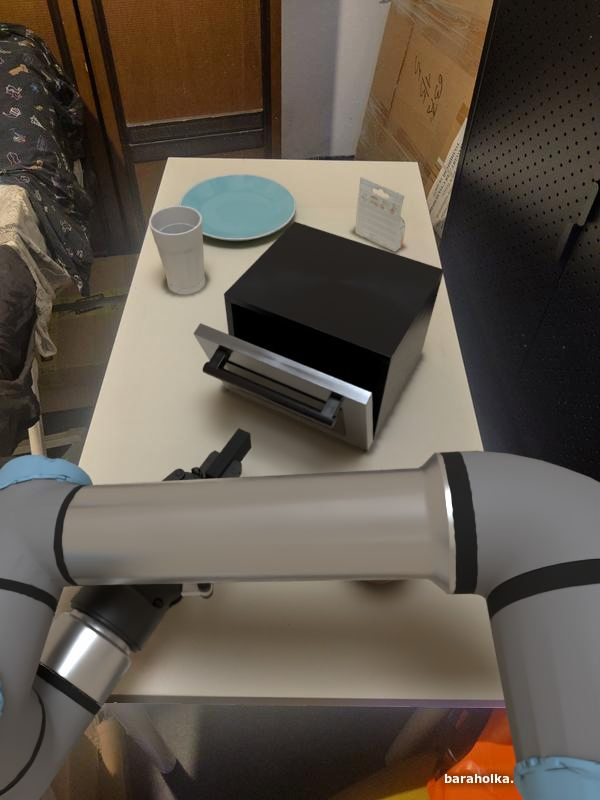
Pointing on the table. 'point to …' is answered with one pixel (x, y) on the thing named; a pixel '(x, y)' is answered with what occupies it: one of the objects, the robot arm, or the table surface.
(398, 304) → the box
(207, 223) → the plate
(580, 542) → the robot arm
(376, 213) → the ink box
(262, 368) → the door
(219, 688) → the table surface
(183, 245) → the cup
